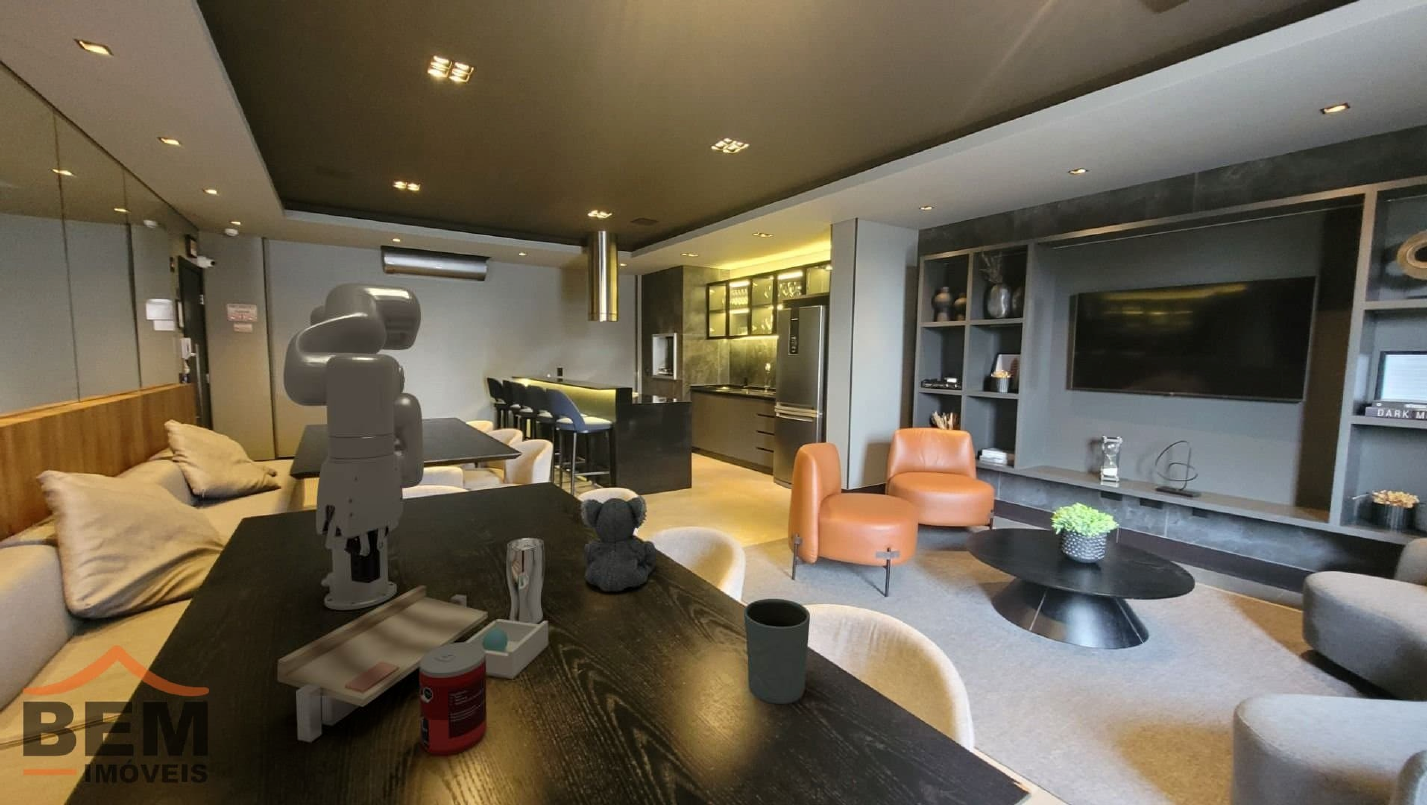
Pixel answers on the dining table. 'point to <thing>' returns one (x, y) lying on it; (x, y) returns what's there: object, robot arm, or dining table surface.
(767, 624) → the dark green cup
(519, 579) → the beer glass
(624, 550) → the koala plush
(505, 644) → the ball
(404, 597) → the lever
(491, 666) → the white open box
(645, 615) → the dining table surface
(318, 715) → the lever stand
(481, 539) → the dining table surface
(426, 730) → the canned food
